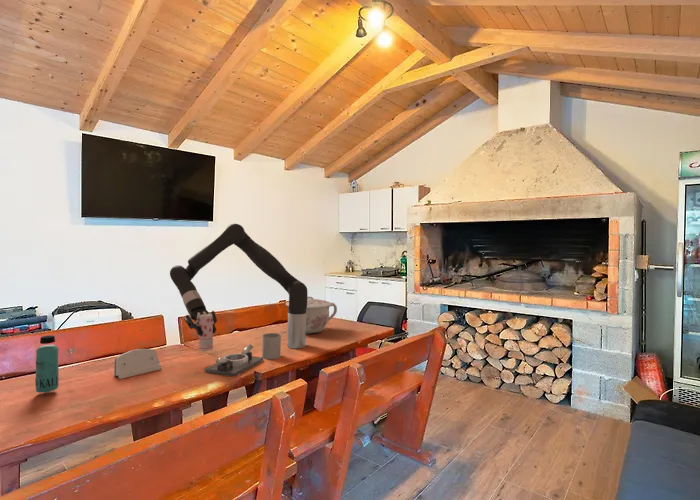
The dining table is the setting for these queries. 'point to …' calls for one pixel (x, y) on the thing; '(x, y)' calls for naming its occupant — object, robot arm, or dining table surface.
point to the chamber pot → (317, 314)
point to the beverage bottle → (46, 366)
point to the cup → (271, 346)
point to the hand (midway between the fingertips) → (208, 333)
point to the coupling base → (234, 369)
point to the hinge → (136, 363)
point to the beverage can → (206, 332)
